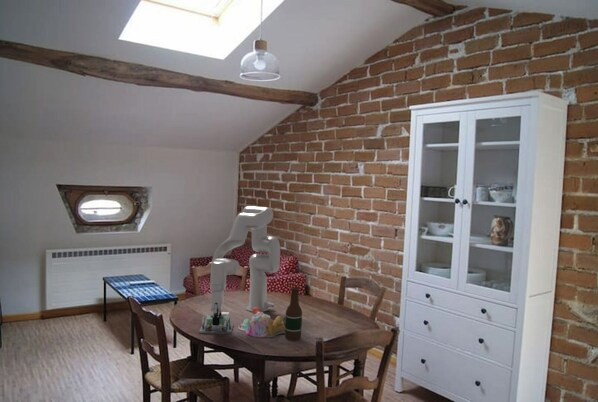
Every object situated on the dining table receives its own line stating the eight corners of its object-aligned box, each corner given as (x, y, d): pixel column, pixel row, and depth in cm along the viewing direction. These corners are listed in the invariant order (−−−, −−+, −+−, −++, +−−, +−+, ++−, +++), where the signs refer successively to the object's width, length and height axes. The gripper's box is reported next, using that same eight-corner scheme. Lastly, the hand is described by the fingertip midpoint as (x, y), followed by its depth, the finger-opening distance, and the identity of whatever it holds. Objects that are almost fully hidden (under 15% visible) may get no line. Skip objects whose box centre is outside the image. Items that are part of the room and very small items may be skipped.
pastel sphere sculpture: (295, 327, 227) (295, 309, 226) (273, 342, 205) (274, 322, 205) (252, 319, 237) (252, 302, 236) (227, 332, 215) (228, 313, 215)
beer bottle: (284, 335, 214) (286, 285, 213) (300, 335, 215) (302, 285, 214) (285, 341, 206) (287, 289, 205) (301, 341, 207) (304, 289, 206)
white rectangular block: (228, 318, 235) (229, 312, 235) (228, 321, 231) (228, 314, 231) (213, 318, 235) (213, 311, 234) (212, 320, 231) (212, 313, 231)
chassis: (233, 325, 224) (233, 314, 224) (230, 334, 212) (231, 321, 212) (203, 324, 224) (203, 313, 223) (198, 333, 212) (199, 320, 211)
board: (227, 320, 221) (228, 314, 221) (226, 324, 215) (226, 318, 215) (207, 320, 221) (207, 314, 221) (205, 323, 215) (205, 317, 215)
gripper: (213, 282, 226) (211, 317, 226) (207, 290, 208) (206, 328, 209) (228, 282, 226) (226, 317, 227) (223, 291, 209) (222, 329, 209)
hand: (216, 322), depth 218 cm, fingers open, 6 cm apart
